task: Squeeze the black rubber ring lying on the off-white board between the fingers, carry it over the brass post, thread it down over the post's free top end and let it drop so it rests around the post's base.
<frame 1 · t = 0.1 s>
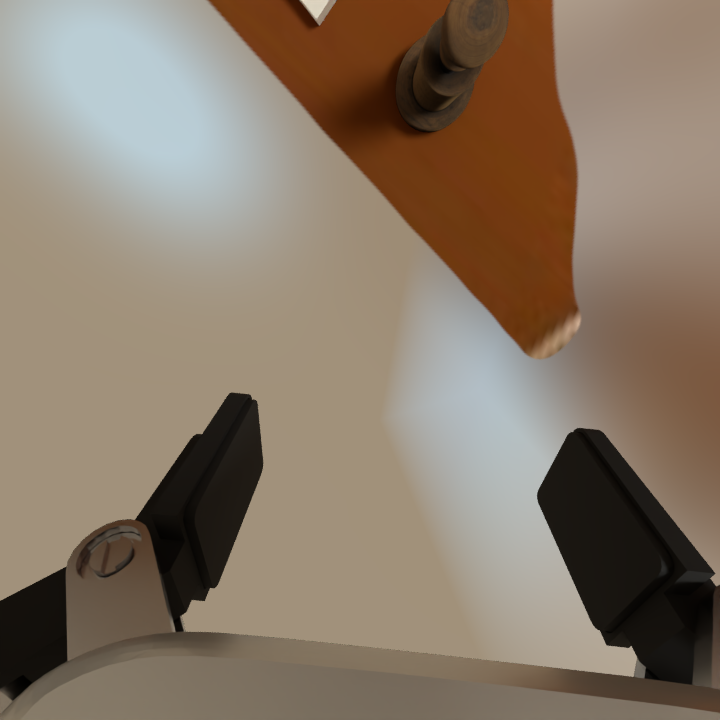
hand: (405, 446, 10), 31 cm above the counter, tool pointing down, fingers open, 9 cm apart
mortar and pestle: (432, 88, 30), on the counter
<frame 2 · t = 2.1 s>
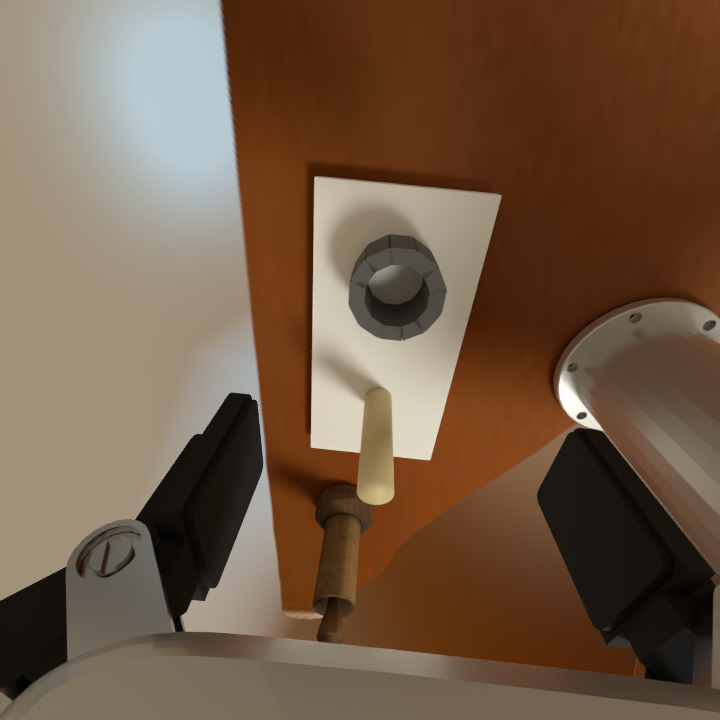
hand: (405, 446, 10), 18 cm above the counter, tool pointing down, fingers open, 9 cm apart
ring: (394, 278, 25), point 1 cm above the counter, touching post board
post board: (384, 341, 29), on the counter
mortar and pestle: (345, 500, 41), on the counter
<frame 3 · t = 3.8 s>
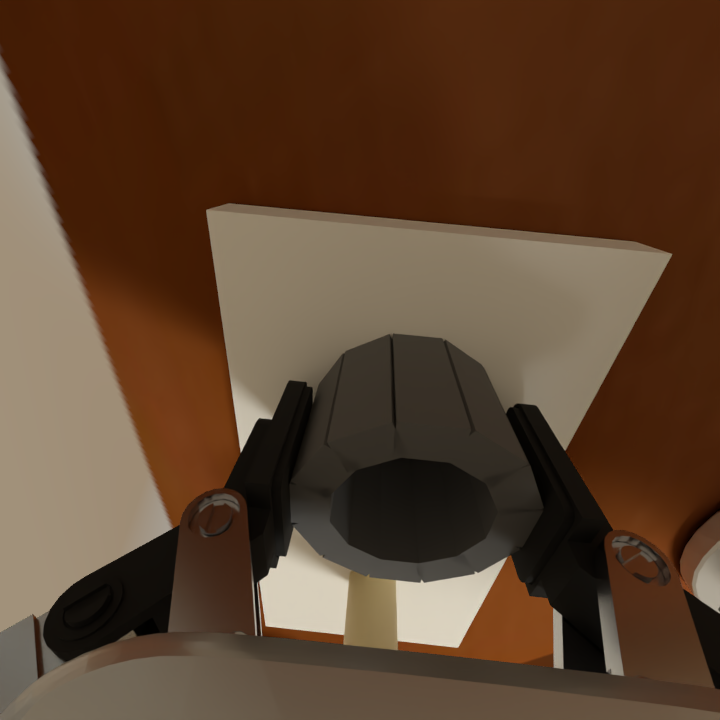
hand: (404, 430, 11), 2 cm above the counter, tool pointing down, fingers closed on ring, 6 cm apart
ring: (403, 412, 12), point 1 cm above the counter, touching gripper, post board
post board: (383, 489, 16), on the counter
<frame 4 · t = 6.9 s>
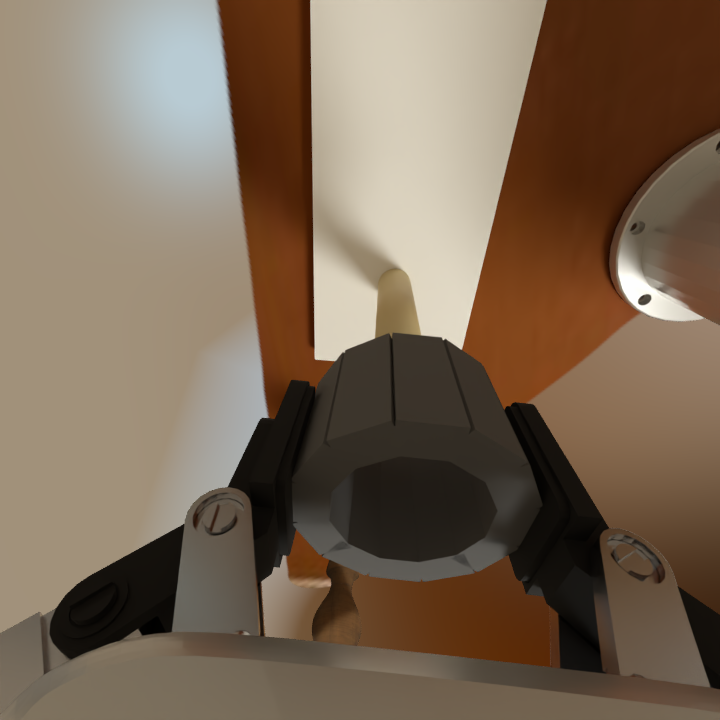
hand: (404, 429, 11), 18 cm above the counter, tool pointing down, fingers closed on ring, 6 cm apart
ring: (402, 411, 12), point 17 cm above the counter, touching gripper
post board: (401, 208, 24), on the counter
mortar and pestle: (356, 436, 35), on the counter
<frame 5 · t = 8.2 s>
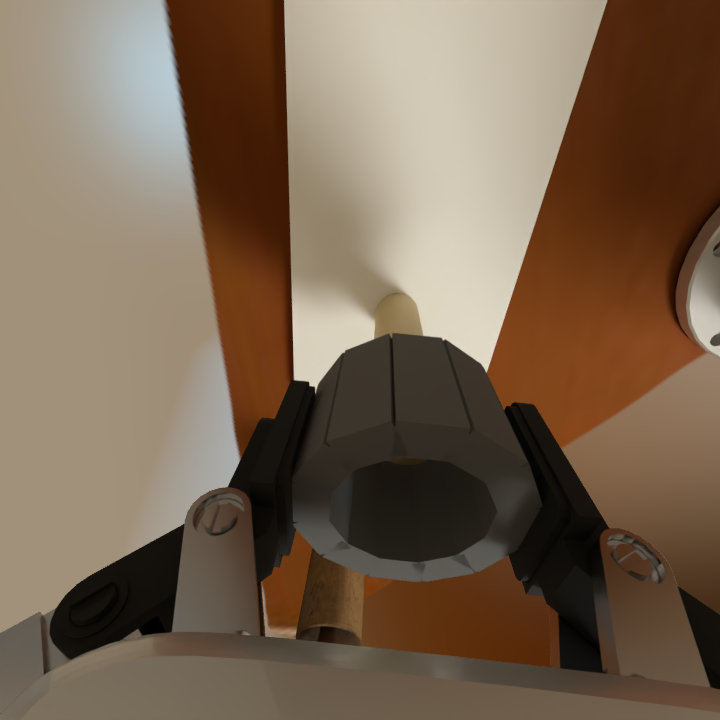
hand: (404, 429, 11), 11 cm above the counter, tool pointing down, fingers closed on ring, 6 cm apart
ring: (402, 412, 12), point 10 cm above the counter, touching gripper
post board: (408, 215, 18), on the counter
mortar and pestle: (347, 483, 30), on the counter
when the fingers open (8 cm above the counter, at t = 9.5 s): ring drops 5 cm, resting on post board.
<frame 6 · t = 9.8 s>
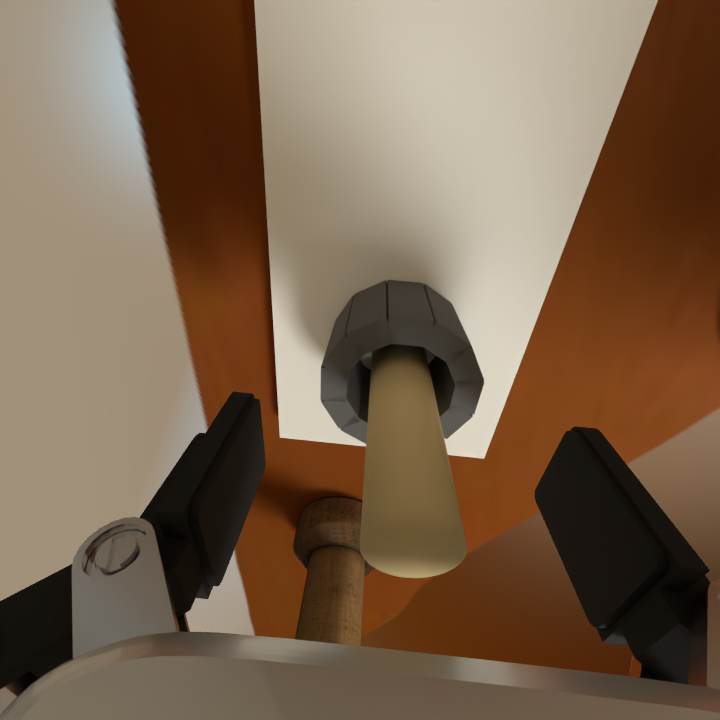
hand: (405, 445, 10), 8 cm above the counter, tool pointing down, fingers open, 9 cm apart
ring: (396, 342, 16), point 1 cm above the counter, touching post board
post board: (412, 227, 15), on the counter
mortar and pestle: (342, 521, 26), on the counter
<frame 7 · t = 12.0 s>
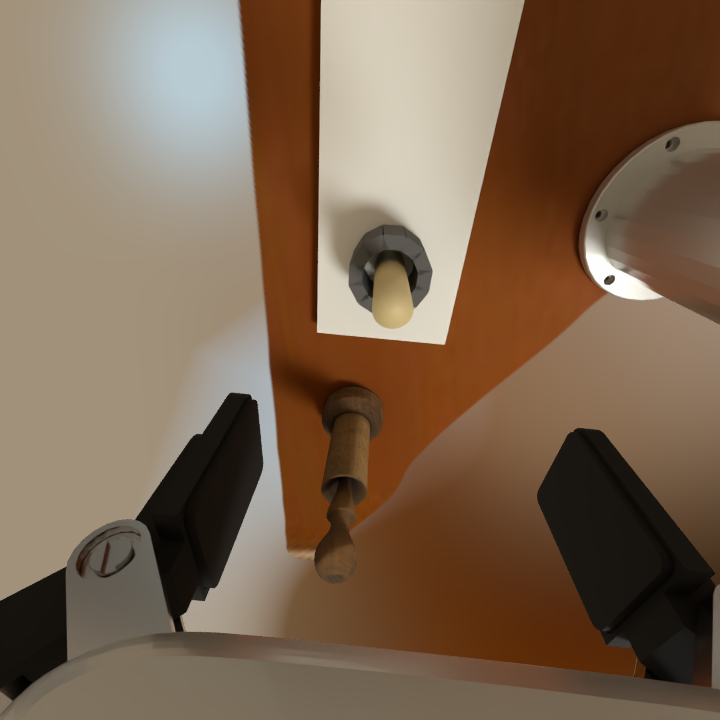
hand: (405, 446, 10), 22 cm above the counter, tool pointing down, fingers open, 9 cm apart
ring: (389, 263, 28), point 1 cm above the counter, touching post board
post board: (397, 195, 27), on the counter
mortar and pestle: (353, 408, 38), on the counter
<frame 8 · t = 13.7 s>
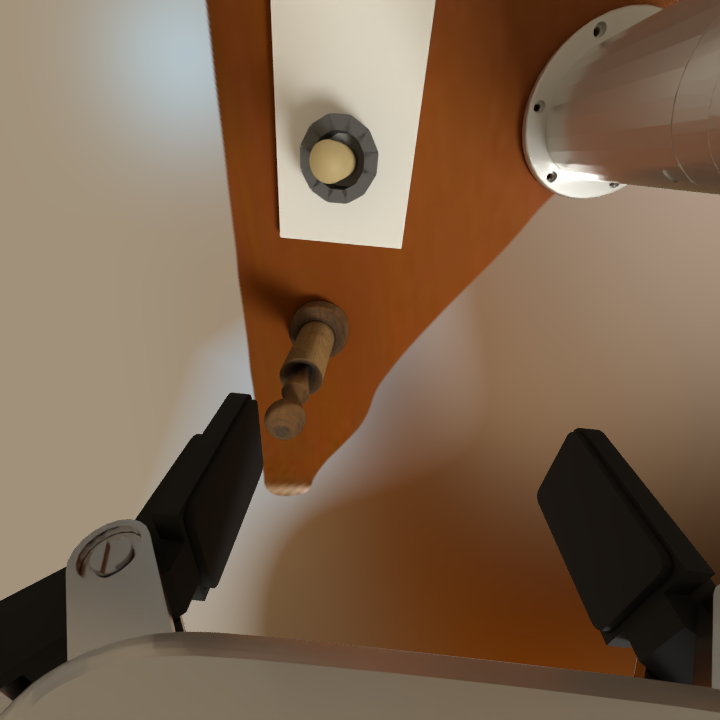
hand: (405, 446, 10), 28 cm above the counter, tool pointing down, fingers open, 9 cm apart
ring: (343, 160, 30), point 1 cm above the counter, touching post board
post board: (349, 92, 29), on the counter
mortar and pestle: (321, 325, 40), on the counter
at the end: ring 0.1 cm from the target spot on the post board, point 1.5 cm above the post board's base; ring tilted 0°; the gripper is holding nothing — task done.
